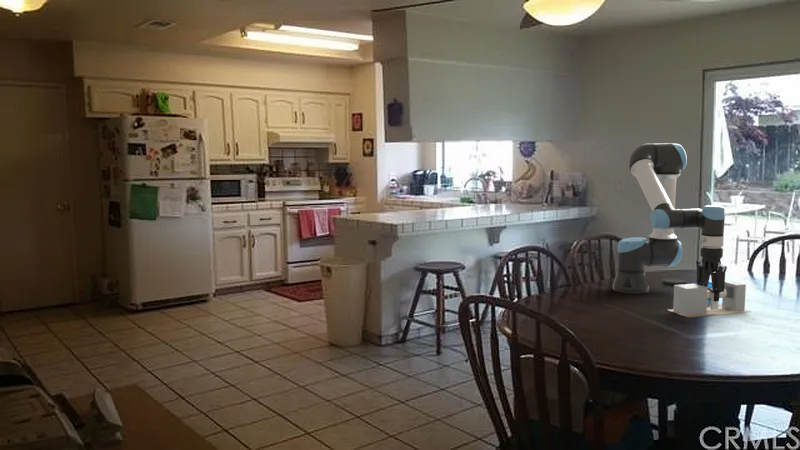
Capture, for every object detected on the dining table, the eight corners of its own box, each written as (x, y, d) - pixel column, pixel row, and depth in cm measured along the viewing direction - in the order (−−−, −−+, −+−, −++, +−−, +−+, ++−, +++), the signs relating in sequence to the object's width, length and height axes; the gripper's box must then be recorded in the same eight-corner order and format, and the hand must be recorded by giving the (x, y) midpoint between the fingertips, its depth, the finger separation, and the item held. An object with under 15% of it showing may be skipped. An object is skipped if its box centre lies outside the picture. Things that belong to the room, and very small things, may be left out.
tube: (687, 302, 237) (687, 291, 236) (679, 300, 241) (679, 288, 241) (727, 299, 241) (727, 288, 241) (718, 297, 245) (719, 286, 245)
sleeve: (685, 315, 236) (686, 288, 235) (673, 311, 242) (674, 285, 241) (706, 313, 238) (707, 287, 237) (693, 309, 245) (694, 283, 244)
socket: (735, 311, 241) (736, 285, 240) (722, 307, 248) (723, 281, 247) (744, 310, 242) (745, 284, 241) (730, 306, 249) (731, 281, 248)
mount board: (666, 312, 245) (666, 309, 245) (728, 307, 252) (728, 304, 251) (687, 319, 233) (687, 317, 233) (751, 314, 240) (751, 311, 240)
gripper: (687, 244, 247) (685, 303, 250) (720, 250, 230) (717, 313, 233) (704, 243, 249) (701, 302, 251) (737, 249, 232) (734, 312, 235)
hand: (709, 307), depth 242 cm, fingers closed on tube, 4 cm apart
